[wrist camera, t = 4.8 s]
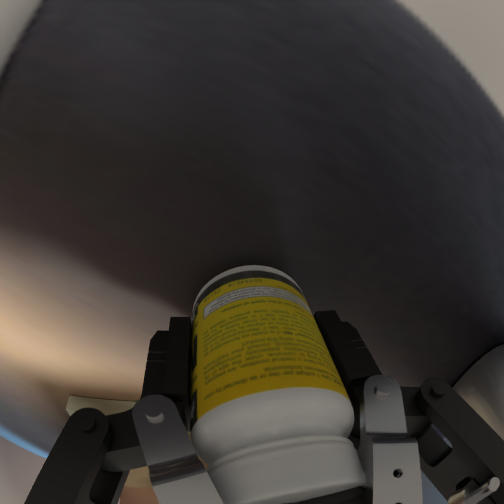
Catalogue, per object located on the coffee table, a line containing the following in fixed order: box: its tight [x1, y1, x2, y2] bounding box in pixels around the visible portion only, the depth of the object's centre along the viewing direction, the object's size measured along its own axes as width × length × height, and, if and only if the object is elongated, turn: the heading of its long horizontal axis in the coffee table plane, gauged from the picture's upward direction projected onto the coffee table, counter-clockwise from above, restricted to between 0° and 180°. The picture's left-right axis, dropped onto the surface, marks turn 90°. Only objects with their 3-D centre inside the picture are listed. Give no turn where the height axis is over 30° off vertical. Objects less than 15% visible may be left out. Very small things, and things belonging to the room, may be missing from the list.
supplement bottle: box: [190, 265, 366, 504], centre depth 9 cm, size 5×5×8 cm
